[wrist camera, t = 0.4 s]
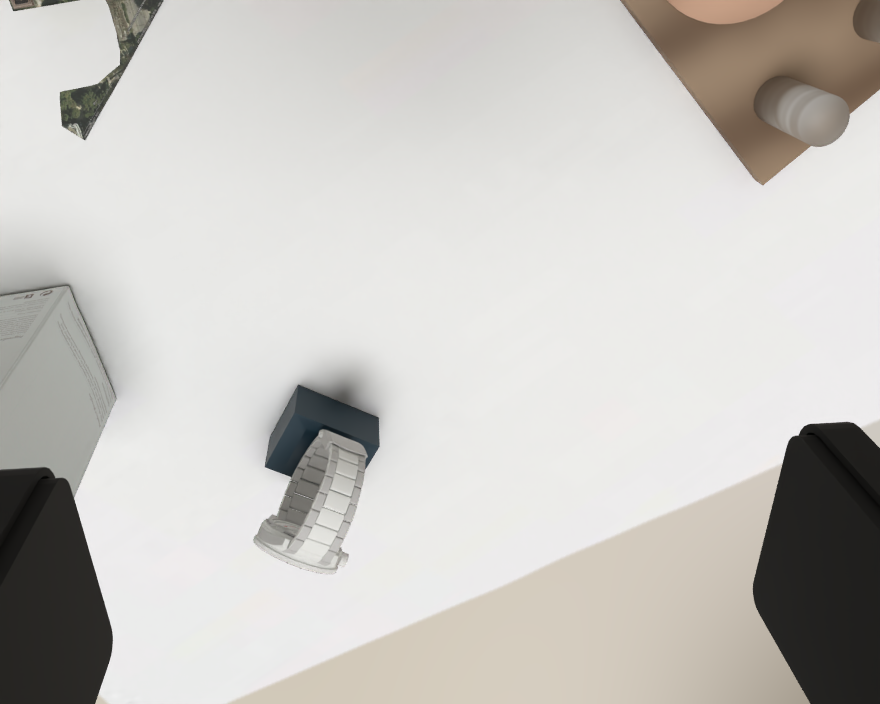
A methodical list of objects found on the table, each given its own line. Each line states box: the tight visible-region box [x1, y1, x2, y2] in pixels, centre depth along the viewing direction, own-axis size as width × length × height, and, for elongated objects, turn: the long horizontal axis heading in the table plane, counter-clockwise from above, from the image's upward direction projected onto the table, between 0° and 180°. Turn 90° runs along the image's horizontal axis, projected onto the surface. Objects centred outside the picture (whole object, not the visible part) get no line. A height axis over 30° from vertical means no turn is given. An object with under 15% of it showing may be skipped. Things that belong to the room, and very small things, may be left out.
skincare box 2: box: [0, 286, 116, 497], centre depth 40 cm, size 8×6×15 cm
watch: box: [253, 385, 379, 574], centre depth 46 cm, size 6×8×11 cm
